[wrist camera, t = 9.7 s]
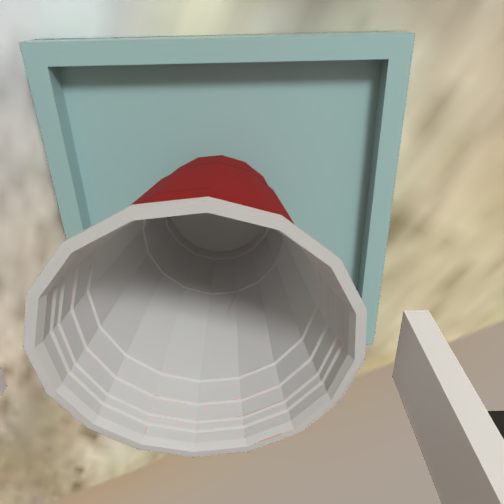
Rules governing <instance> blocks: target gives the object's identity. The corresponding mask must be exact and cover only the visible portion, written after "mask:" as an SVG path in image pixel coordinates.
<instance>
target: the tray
mask: <svg viewBox="0 0 504 504" xmlns="http://www.w3.org/2000/svg"><path fill="white" fill-rule="evenodd" d="M414 38H415V33H411V32H406V31H375V32H332V33H288V34H245V35H201V36H158V37H115V38H71V39H35V40H30V41H24V42H19V45H20V49H21V53H22V57H23V61H24V65H25V69H26V74H27V78H28V82H29V86H30V90H31V94H32V99H33V103H34V107H35V111H36V115H37V119H38V123H39V128H40V132H41V136H42V140H43V144H44V148H45V153H46V157H47V161H48V165H49V169H50V173H51V177H52V182H53V186H54V190H55V194H56V198H57V202H58V207H59V211H60V215H61V219H62V223H63V227H64V231H65V236H66V240H67V239H69V238H70V237H72V236H74V235H76V234H78V233H80V232H82V231H84V230H85V229H87V228H89V227H91V226H93V225H95V224H97V223H98V222H100V221H102V220H104V219H106V218H108V217H110V216H112V215H113V214H115V213H117V212H119V211H121V210H123V209H125V208H126V207H128V206H130V205H131V204H132V203H134V202H135V201H136V200H137V199H138V198H139V197H141V196H142V195H143V194H144V193H145V192H147V191H148V190H149V189H150V188H151V187H153V186H154V185H155V184H156V183H157V182H158V181H160V180H161V179H162V178H164V177H166V176H168V175H170V174H172V173H173V172H174V171H175V170H176V169H178V168H179V167H181V166H183V165H185V164H187V163H189V162H190V161H192V160H194V159H196V158H198V157H207V156H218V155H223V156H227V157H230V158H234V159H237V160H240V161H244V162H246V163H247V164H248V165H250V166H251V167H252V168H253V169H255V170H256V171H257V172H258V173H260V174H261V175H262V176H263V177H264V179H265V180H266V182H267V184H268V186H269V187H270V188H272V189H273V190H274V192H275V193H276V195H277V197H278V198H279V200H280V201H281V203H282V205H283V206H284V208H285V210H286V211H287V213H288V214H289V216H290V218H291V219H292V221H293V222H294V224H295V225H296V226H297V227H298V228H300V229H301V230H303V231H304V232H305V233H307V234H308V235H309V236H311V237H312V238H313V239H315V240H316V241H317V242H319V243H320V244H322V245H323V246H324V247H326V248H327V249H328V250H330V251H331V252H332V253H334V254H335V255H336V256H337V257H338V258H340V259H341V260H342V262H343V264H344V266H345V268H346V270H347V272H348V274H349V276H350V278H351V280H352V282H353V284H354V286H355V288H356V290H357V291H358V293H359V295H360V297H361V299H362V301H363V303H364V305H365V307H366V309H367V326H366V345H373V343H374V335H375V328H376V320H377V313H378V305H379V298H380V291H381V283H382V276H383V268H384V261H385V254H386V246H387V239H388V231H389V224H390V216H391V209H392V202H393V194H394V187H395V179H396V172H397V164H398V157H399V150H400V142H401V135H402V127H403V120H404V112H405V105H406V98H407V90H408V83H409V75H410V68H411V61H412V53H413V46H414Z"/></svg>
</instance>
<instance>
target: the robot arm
mask: <svg viewBox="0 0 504 504" xmlns="http://www.w3.org/2000/svg"><path fill="white" fill-rule="evenodd" d="M392 377H393V379H394V382H395V384H396V387H397V389H398V392H399V395H400V397H401V400H402V402H403V405H404V408H405V410H406V413H407V415H408V418H409V420H410V423H411V425H412V428H413V431H414V433H415V436H416V439H417V441H418V443H419V446H420V449H421V451H422V454H423V457H424V459H425V462H426V464H427V467H428V470H429V472H430V475H431V477H432V480H433V482H434V485H435V488H436V490H437V493H438V495H439V498H440V500H441V503H442V504H504V411H487V410H486V408H485V406H484V405H483V403H482V401H481V400H480V398H479V396H478V394H477V393H476V391H475V389H474V388H473V386H472V384H471V382H470V381H469V379H468V377H467V376H466V374H465V372H464V370H463V369H462V367H461V365H460V364H459V362H458V361H457V359H456V357H455V355H454V353H453V352H452V350H451V348H450V347H449V345H448V343H447V341H446V340H445V338H444V336H443V335H442V333H441V331H440V329H439V328H438V326H437V324H436V323H435V321H434V319H433V317H432V316H431V314H430V312H429V311H428V310H409V311H404V312H403V317H402V323H401V329H400V335H399V341H398V347H397V353H396V359H395V364H394V371H393V376H392ZM6 387H7V383H6V381H5V378H4V375H3V373H2V370H1V367H0V397H1V395H2V394H3V392H4V391H5V389H6Z"/></svg>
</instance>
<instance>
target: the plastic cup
mask: <svg viewBox="0 0 504 504" xmlns="http://www.w3.org/2000/svg"><path fill="white" fill-rule="evenodd" d="M366 326H367V309H366V307H365V305H364V303H363V301H362V299H361V297H360V295H359V293H358V291H357V290H356V288H355V286H354V284H353V282H352V280H351V278H350V276H349V274H348V272H347V270H346V268H345V266H344V264H343V262H342V260H341V259H340V258H338V257H337V256H336V255H335V254H334V253H332V252H331V251H330V250H328V249H327V248H326V247H324V246H323V245H322V244H320V243H319V242H317V241H316V240H315V239H313V238H312V237H311V236H309V235H308V234H307V233H305V232H304V231H303V230H301V229H300V228H298V227H297V226H296V225H295V224H294V222H293V221H292V219H291V218H290V216H289V214H288V213H287V211H286V210H285V208H284V206H283V205H282V203H281V201H280V200H279V198H278V197H277V195H276V193H275V192H274V190H273V189H272V188H270V187H269V186H268V184H267V182H266V180H265V179H264V177H263V176H262V175H261V174H260V173H258V172H257V171H256V170H255V169H253V168H252V167H251V166H250V165H248V164H247V163H246V162H244V161H240V160H237V159H234V158H230V157H227V156H223V155H218V156H207V157H198V158H196V159H194V160H192V161H190V162H189V163H187V164H185V165H183V166H181V167H179V168H178V169H176V170H175V171H174V172H173V173H172V174H170V175H168V176H166V177H164V178H162V179H161V180H160V181H158V182H157V183H156V184H155V185H154V186H153V187H151V188H150V189H149V190H148V191H147V192H145V193H144V194H143V195H142V196H141V197H139V198H138V199H137V200H136V201H135V202H134V203H132V204H131V205H130V206H128V207H126V208H125V209H123V210H121V211H119V212H117V213H115V214H113V215H112V216H110V217H108V218H106V219H104V220H102V221H100V222H98V223H97V224H95V225H93V226H91V227H89V228H87V229H85V230H84V231H82V232H80V233H78V234H76V235H74V236H72V237H70V238H69V239H67V240H66V241H64V242H63V243H61V245H60V246H59V248H58V249H57V251H56V252H55V253H54V255H53V256H52V258H51V259H50V260H49V262H48V263H47V265H46V266H45V268H44V269H43V270H42V272H41V273H40V275H39V276H38V278H37V279H36V280H35V282H34V283H33V285H32V286H31V288H30V289H29V290H28V292H27V293H26V305H25V321H24V338H23V348H24V350H25V352H26V354H27V356H28V358H29V360H30V362H31V364H32V366H33V368H34V370H35V372H36V374H37V376H38V378H39V380H40V382H41V384H42V386H43V388H44V390H45V392H46V394H48V395H49V396H50V397H51V398H52V399H54V400H55V401H56V402H57V403H58V404H59V405H61V406H62V407H63V408H64V409H65V410H66V411H68V412H69V413H70V414H71V415H72V416H74V417H75V418H76V419H77V420H78V421H79V422H81V423H82V424H83V425H84V426H85V427H86V428H88V429H91V430H93V431H96V432H98V433H100V434H103V435H105V436H108V437H110V438H112V439H115V440H117V441H119V442H122V443H124V444H127V445H129V446H131V447H134V448H136V449H139V450H146V451H154V452H161V453H168V454H176V455H182V456H190V457H200V456H209V455H220V454H230V453H240V452H249V451H252V450H254V449H257V448H260V447H263V446H265V445H268V444H271V443H274V442H276V441H279V440H281V439H284V438H287V437H290V436H292V435H295V434H298V433H300V432H301V431H303V430H304V429H305V428H307V427H308V426H309V425H310V424H312V423H313V422H314V421H316V420H317V419H318V418H320V417H321V416H322V415H324V414H325V413H326V412H327V411H329V410H330V409H331V408H333V407H334V406H335V405H336V404H338V403H339V402H340V401H341V399H342V398H343V396H344V394H345V392H346V391H347V389H348V387H349V386H350V384H351V382H352V380H353V379H354V377H355V376H356V374H357V372H358V371H359V369H360V367H361V366H362V364H363V362H364V360H365V346H366Z"/></svg>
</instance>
